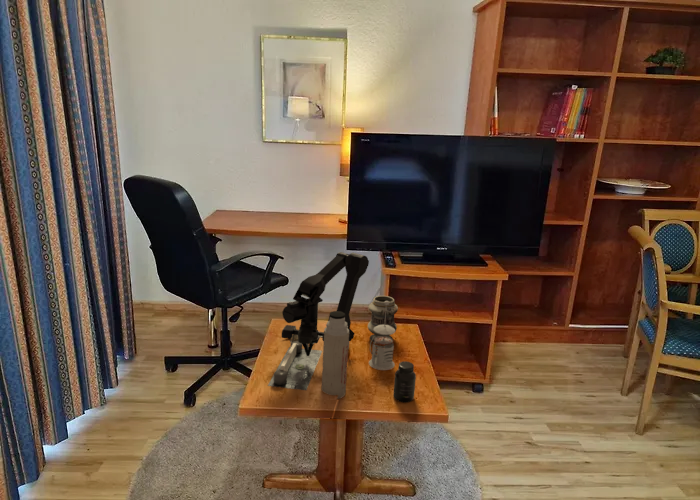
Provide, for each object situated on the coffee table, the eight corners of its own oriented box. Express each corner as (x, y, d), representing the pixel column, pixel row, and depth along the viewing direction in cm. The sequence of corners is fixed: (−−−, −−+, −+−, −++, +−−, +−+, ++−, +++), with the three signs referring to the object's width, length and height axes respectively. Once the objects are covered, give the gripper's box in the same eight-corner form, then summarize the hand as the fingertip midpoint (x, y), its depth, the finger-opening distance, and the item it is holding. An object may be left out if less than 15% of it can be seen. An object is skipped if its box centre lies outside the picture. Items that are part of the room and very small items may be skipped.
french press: (400, 364, 181) (405, 301, 174) (380, 374, 172) (385, 309, 166) (379, 355, 187) (384, 294, 181) (360, 364, 179) (364, 301, 172)
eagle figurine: (278, 341, 191) (288, 346, 184) (286, 324, 193) (296, 328, 186) (293, 348, 195) (304, 353, 188) (300, 331, 197) (311, 336, 190)
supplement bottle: (391, 391, 162) (394, 359, 158) (411, 392, 162) (414, 359, 159) (394, 403, 155) (397, 369, 152) (415, 403, 156) (419, 369, 153)
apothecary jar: (376, 330, 209) (379, 291, 205) (400, 339, 202) (404, 298, 198) (361, 339, 200) (363, 298, 195) (385, 348, 193) (389, 306, 188)
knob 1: (285, 385, 158) (285, 373, 157) (272, 384, 159) (272, 372, 158) (294, 366, 171) (294, 355, 170) (282, 365, 171) (282, 353, 170)
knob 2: (292, 347, 185) (292, 337, 184) (303, 348, 185) (303, 338, 183) (283, 363, 172) (283, 352, 171) (295, 365, 172) (295, 353, 171)
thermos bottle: (350, 391, 160) (354, 312, 153) (336, 402, 154) (341, 320, 147) (330, 383, 164) (334, 306, 157) (316, 393, 158) (319, 314, 151)
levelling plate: (322, 354, 185) (322, 349, 184) (306, 394, 157) (306, 388, 157) (289, 350, 186) (289, 345, 186) (267, 389, 158) (267, 384, 158)
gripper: (277, 321, 164) (276, 363, 167) (331, 327, 162) (329, 369, 165) (286, 309, 174) (285, 349, 178) (336, 314, 172) (334, 354, 176)
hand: (308, 355), depth 174 cm, fingers closed
